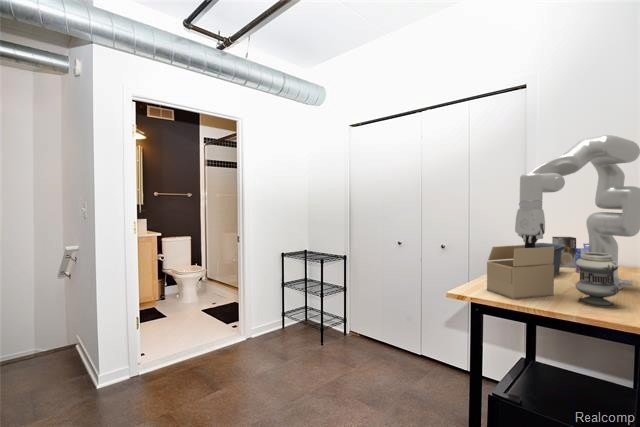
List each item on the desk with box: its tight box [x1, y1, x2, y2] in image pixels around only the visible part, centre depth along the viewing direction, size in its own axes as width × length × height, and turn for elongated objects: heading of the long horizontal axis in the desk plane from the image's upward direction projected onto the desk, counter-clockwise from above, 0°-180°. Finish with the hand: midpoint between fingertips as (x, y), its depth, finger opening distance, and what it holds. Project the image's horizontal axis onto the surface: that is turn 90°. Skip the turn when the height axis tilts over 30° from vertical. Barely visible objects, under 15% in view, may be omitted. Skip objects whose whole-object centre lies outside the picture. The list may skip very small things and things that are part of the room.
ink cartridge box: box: [575, 243, 589, 274], centre depth 169 cm, size 10×6×14 cm, turn 78°
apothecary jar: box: [575, 252, 620, 308], centre depth 122 cm, size 12×12×18 cm
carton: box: [486, 259, 555, 300], centre depth 137 cm, size 20×14×12 cm
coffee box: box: [551, 236, 577, 268], centre depth 185 cm, size 9×6×16 cm
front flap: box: [513, 247, 554, 266], centre depth 130 cm, size 18×7×1 cm
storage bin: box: [535, 242, 565, 275], centre depth 169 cm, size 21×16×14 cm
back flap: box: [487, 244, 525, 261], centre depth 142 cm, size 18×7×1 cm
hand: (529, 252), depth 132 cm, fingers closed
